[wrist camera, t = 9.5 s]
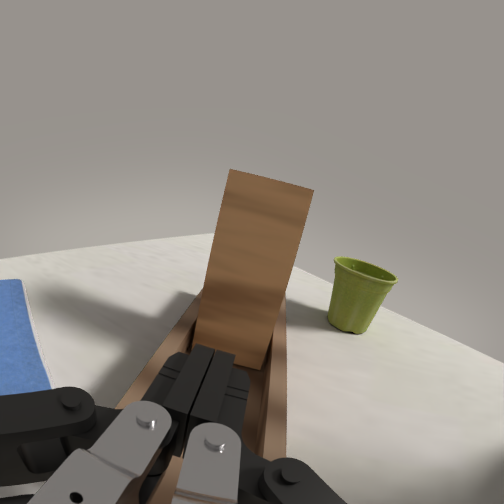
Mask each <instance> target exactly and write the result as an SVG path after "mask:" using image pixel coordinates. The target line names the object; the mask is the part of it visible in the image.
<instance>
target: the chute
mask: <svg viewBox="0 0 504 504" xmlns="http://www.w3.org/2000/svg"><path fill="white" fill-rule="evenodd" d="M202 292H203V289H202V290H201V291H200V293H199V294H198V295H197V297H196V298H195V299H194V301H193V302H192V303H191V305H190V306H189V307H188V309H187V310H186V311H185V313H184V314H183V315H182V317H181V318H180V320H179V321H178V322H177V324H176V325H175V326H174V328H173V329H172V330H171V332H170V333H169V334H168V336H167V337H166V338H165V340H164V341H163V343H162V344H161V345H160V347H159V348H158V349H157V351H156V352H155V353H154V355H153V356H152V358H151V359H150V360H149V362H148V363H147V364H146V366H145V367H144V369H143V370H142V371H141V373H140V374H139V375H138V377H137V378H136V380H135V381H134V382H133V384H132V385H131V387H130V388H129V389H128V391H127V392H126V394H125V395H124V396H123V398H122V399H121V401H120V402H119V403H118V405H117V406H116V408H115V409H124V408H125V407H126V406H127V405H128V404H130V403H132V402H136V401H140V400H141V399H142V397H143V396H144V394H145V393H146V391H147V389H148V388H149V386H150V385H151V383H152V382H153V380H154V379H155V377H156V375H157V374H158V372H159V371H160V369H161V368H162V367H163V365H164V363H165V362H166V360H167V359H168V357H170V356H171V355H173V354H175V353H177V352H182V353H185V354H188V355H190V353H191V350H192V344H193V339H194V333H195V328H196V323H197V317H198V312H199V307H200V302H201V297H202ZM232 368H236V369H240V370H243V371H247V374H248V376H249V379H250V381H251V382H250V388H249V394H248V399H247V405H246V410H245V416H244V421H243V426H242V433H241V435H242V440H243V442H244V444H245V445H246V446H247V448H248V449H249V450H250V451H252V452H253V453H255V454H256V455H258V456H260V457H262V458H265V459H267V460H269V461H273V460H275V459H278V458H286V430H287V350H286V299H285V295H284V298H283V301H282V304H281V308H280V311H279V314H278V317H277V320H276V323H275V327H274V330H273V333H272V336H271V339H270V342H269V345H268V348H267V351H266V354H265V357H264V360H263V363H262V366H261V369H260V370H257V369H253V368H249V367H245V366H241V365H237V364H234V363H233V367H232ZM183 451H184V449H183ZM182 457H183V452H182V454H181V457H176V456H172V459H171V461H170V463H169V466H168V468H167V469H166V473H165V475H164V477H163V479H162V481H161V483H160V485H159V486H158V488H157V490H156V492H155V494H154V496H153V498H152V499H151V501H150V503H149V504H171V502H172V499H173V495H174V492H175V490H176V487H177V483H178V479H179V475H180V471H181V467H182V463H183V458H182Z"/></svg>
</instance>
